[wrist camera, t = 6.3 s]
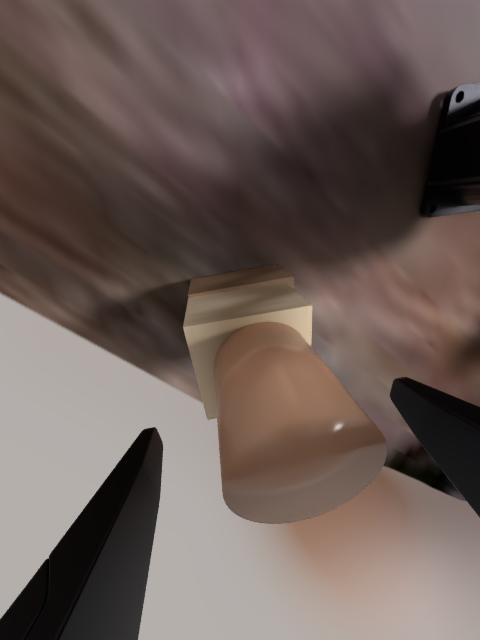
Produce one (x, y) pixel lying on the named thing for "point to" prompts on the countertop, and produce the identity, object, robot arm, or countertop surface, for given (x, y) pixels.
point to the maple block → (237, 325)
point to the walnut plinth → (240, 280)
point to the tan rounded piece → (288, 429)
